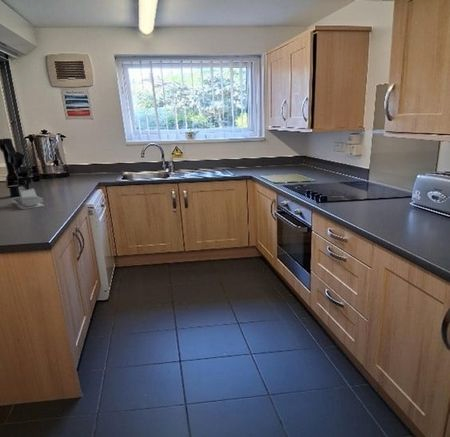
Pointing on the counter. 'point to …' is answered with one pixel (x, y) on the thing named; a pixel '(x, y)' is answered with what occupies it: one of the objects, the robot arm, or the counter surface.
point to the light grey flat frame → (18, 202)
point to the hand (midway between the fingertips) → (28, 189)
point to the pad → (30, 206)
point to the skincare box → (28, 197)
